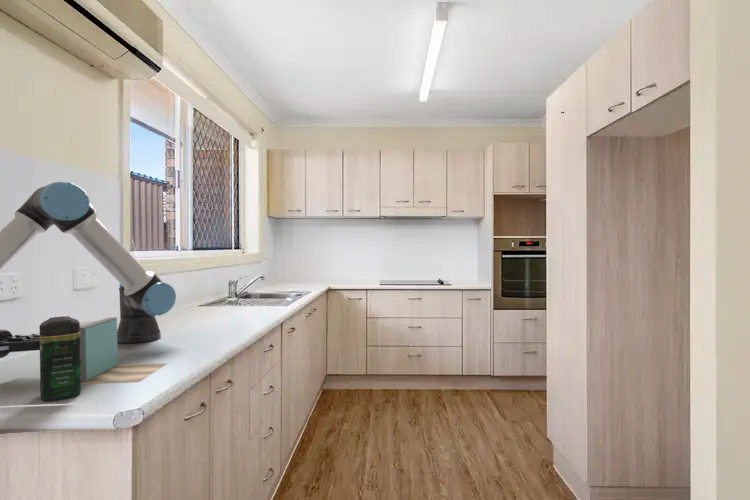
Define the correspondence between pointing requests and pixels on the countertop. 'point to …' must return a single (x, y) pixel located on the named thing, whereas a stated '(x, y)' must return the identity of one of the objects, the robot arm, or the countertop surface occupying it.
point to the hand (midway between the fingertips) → (79, 341)
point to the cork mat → (126, 373)
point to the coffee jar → (60, 358)
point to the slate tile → (98, 348)
